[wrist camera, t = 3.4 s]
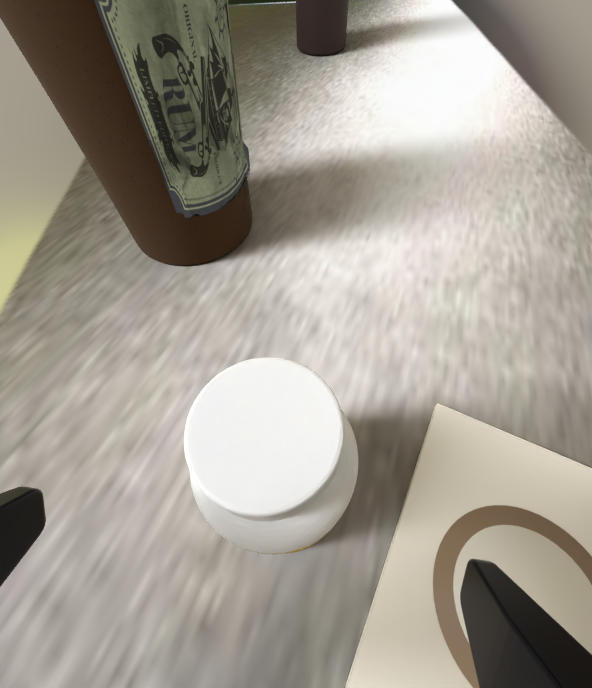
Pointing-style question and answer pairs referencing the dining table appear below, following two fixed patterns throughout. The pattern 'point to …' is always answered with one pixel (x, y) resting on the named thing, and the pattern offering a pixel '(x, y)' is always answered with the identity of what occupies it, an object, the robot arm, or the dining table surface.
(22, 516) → the robot arm
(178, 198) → the brown rum bottle
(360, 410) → the dining table surface
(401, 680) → the card
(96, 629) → the dining table surface
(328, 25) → the vinegar
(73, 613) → the dining table surface
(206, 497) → the supplement bottle
